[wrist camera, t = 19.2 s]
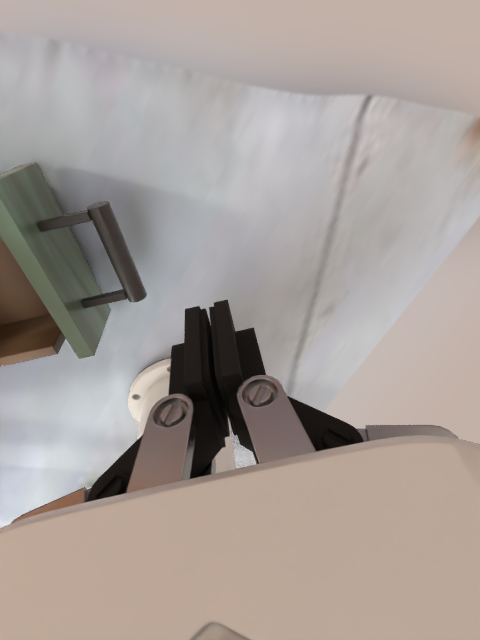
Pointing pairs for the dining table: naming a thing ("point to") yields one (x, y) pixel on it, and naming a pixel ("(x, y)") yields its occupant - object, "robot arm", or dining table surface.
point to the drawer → (53, 271)
